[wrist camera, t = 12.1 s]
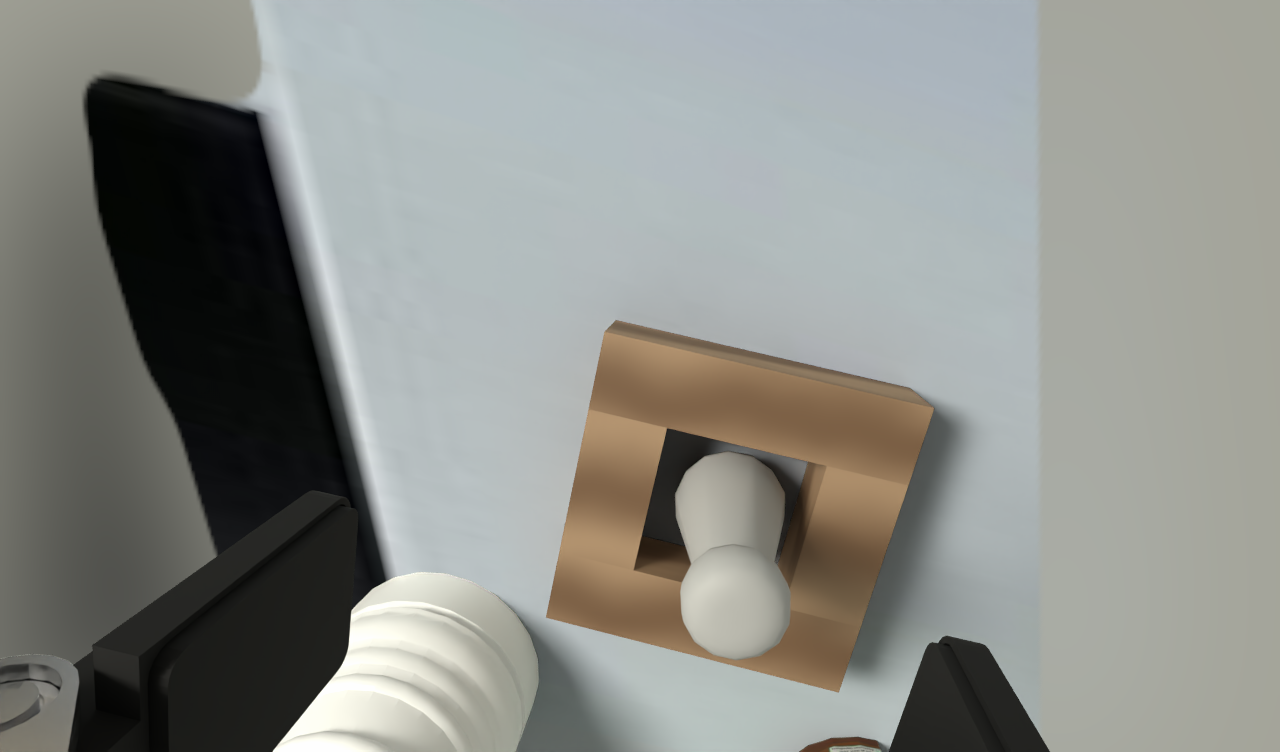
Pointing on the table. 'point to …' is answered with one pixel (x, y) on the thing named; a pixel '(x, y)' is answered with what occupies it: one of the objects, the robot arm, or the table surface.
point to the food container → (844, 745)
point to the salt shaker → (732, 555)
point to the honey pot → (425, 674)
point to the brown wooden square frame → (752, 417)
